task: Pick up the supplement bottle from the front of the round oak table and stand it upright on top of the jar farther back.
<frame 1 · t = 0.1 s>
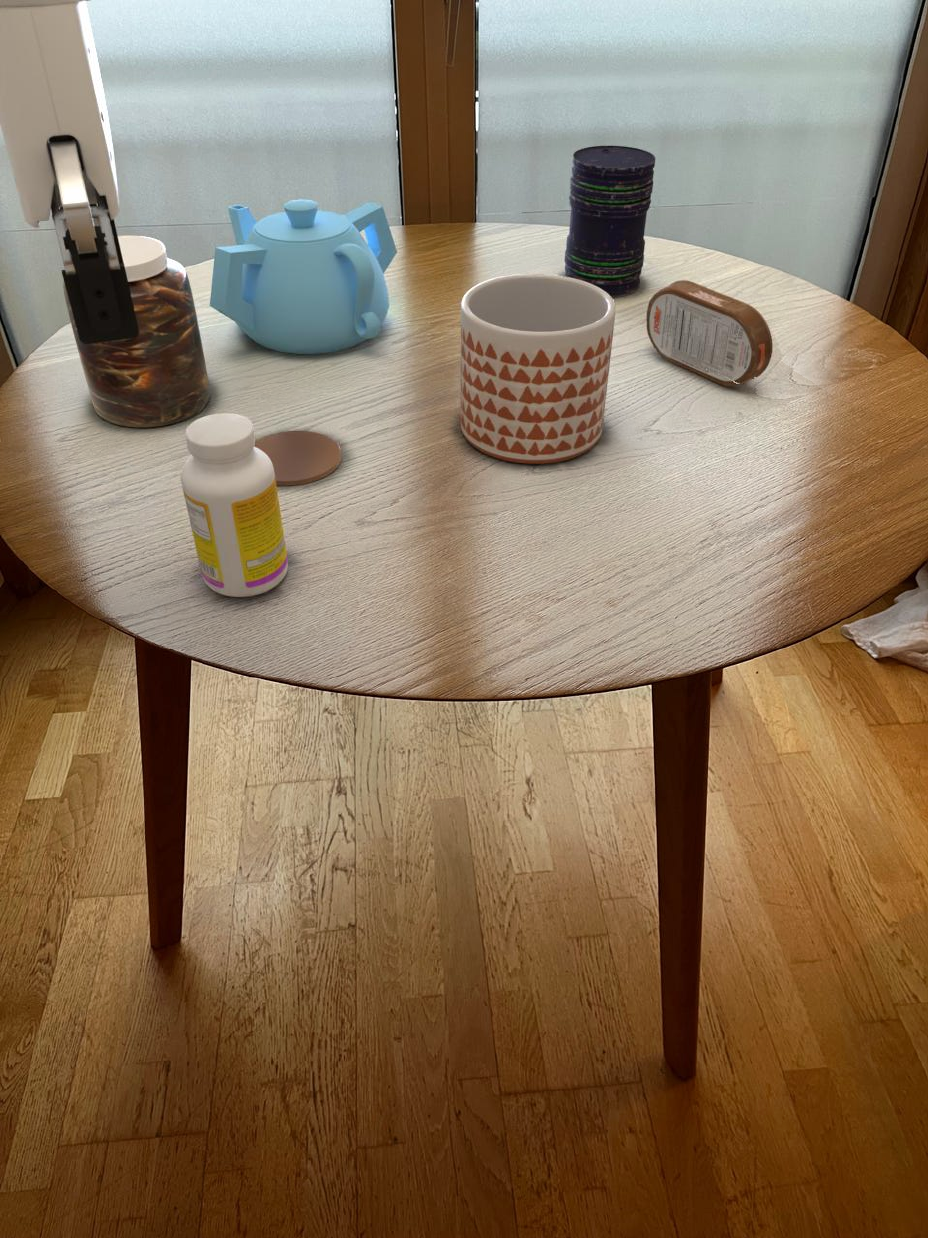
hand: (105, 306, 57), 23 cm above the table, tool pointing down, fingers open, 9 cm apart
brown coaster: (292, 459, 89), on the table
teapot: (309, 326, 112), on the table
tin: (698, 372, 103), on the table
storage jar: (601, 284, 122), on the table
planter: (530, 431, 93), on the table
jar: (153, 401, 97), on the table
supplement bottle: (246, 576, 75), on the table
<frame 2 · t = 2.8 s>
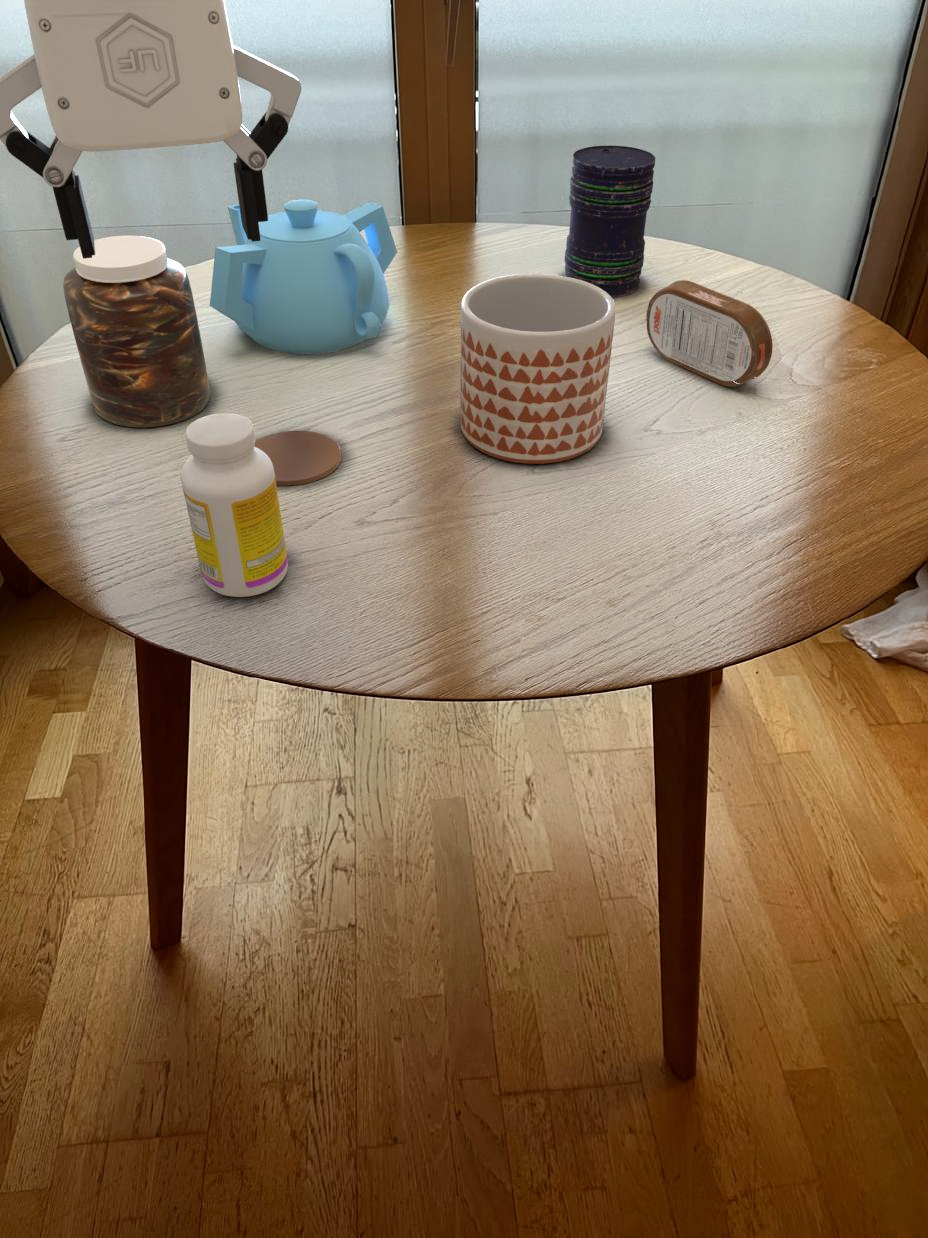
hand: (171, 242, 58), 26 cm above the table, tool pointing down, fingers open, 9 cm apart
nothing on the table moved.
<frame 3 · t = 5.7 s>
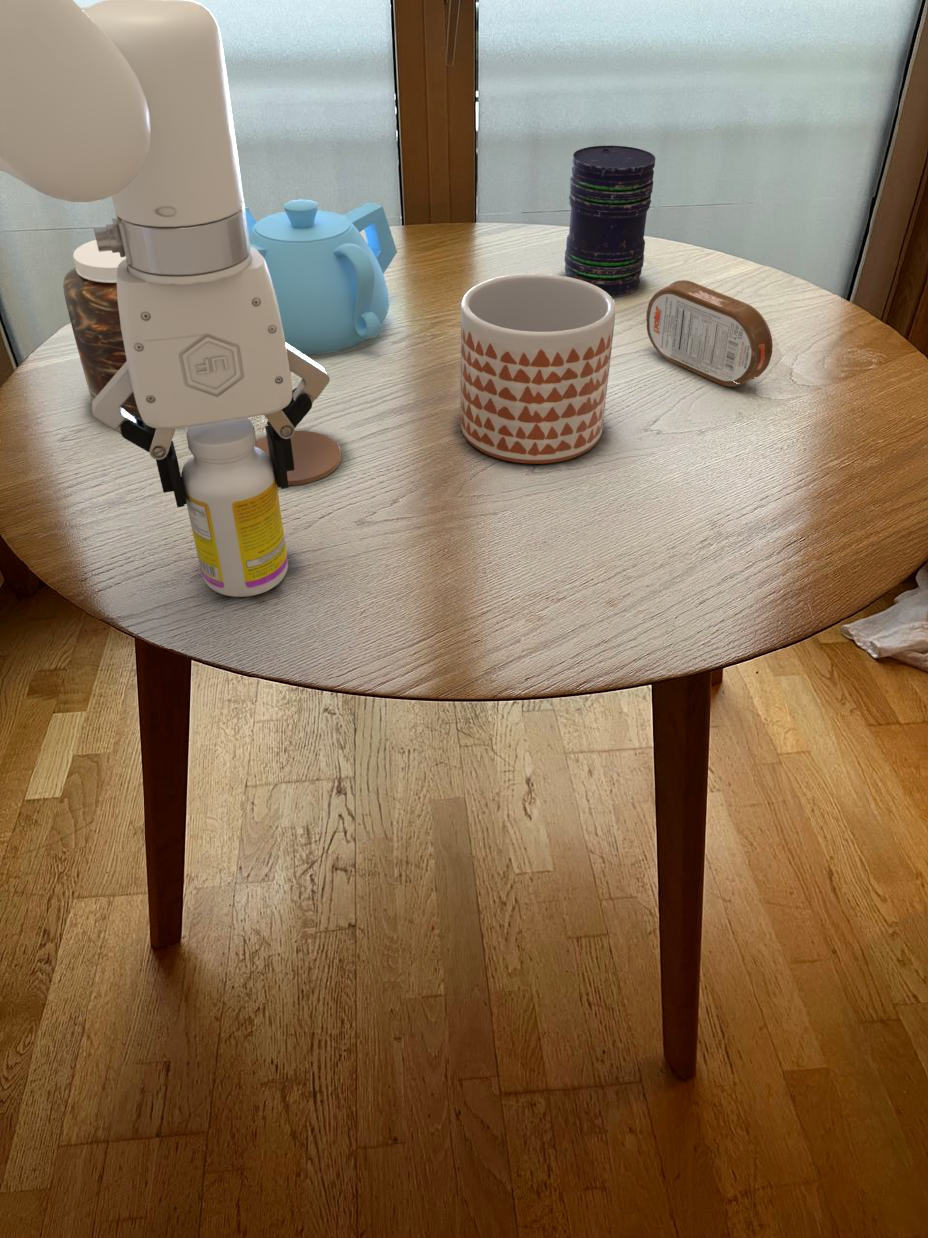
hand: (230, 486, 70), 8 cm above the table, tool pointing down, fingers closed on supplement bottle, 6 cm apart
supplement bottle: (246, 576, 75), on the table, touching gripper
everything else where it was.
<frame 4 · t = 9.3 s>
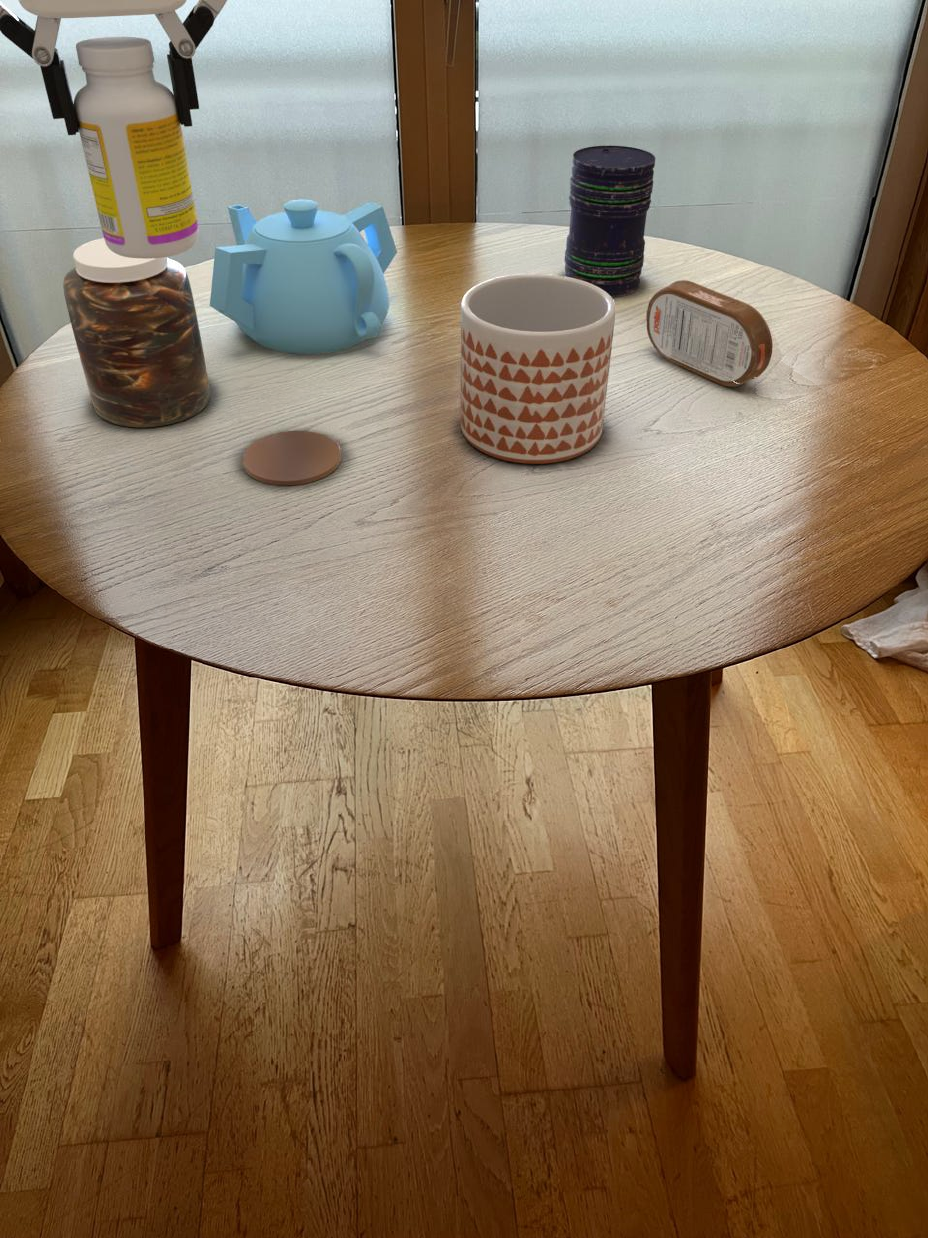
hand: (129, 123, 64), 30 cm above the table, tool pointing down, fingers closed on supplement bottle, 6 cm apart
supplement bottle: (154, 248, 70), point 21 cm above the table, touching gripper
everything else where it was.
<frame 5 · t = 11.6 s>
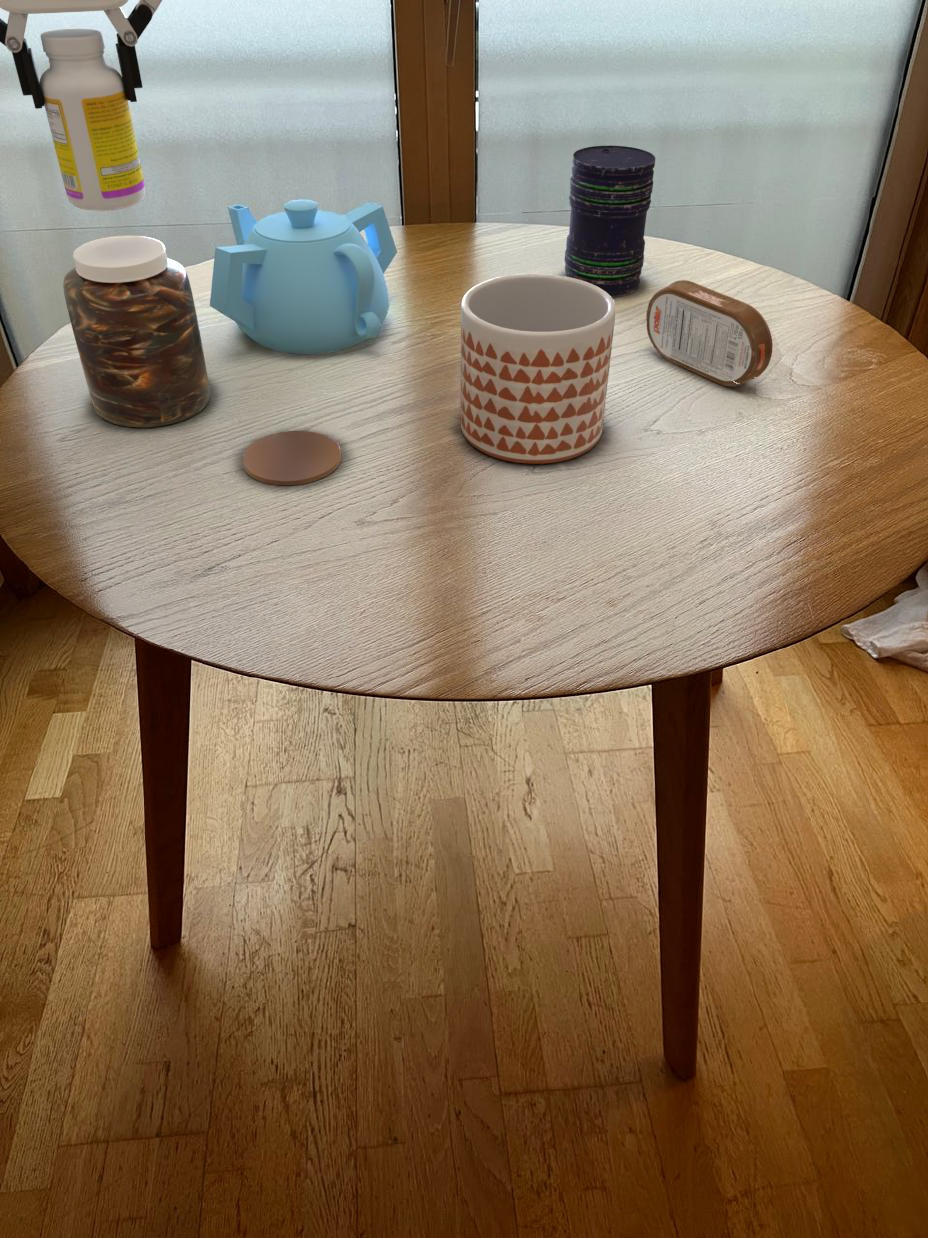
hand: (85, 99, 79), 27 cm above the table, tool pointing down, fingers closed on supplement bottle, 6 cm apart
supplement bottle: (108, 203, 85), point 19 cm above the table, touching gripper
everything else where it was.
when the fingers open (23 cm above the table, at t = 13.4 s): supplement bottle stays where it is, resting on jar.
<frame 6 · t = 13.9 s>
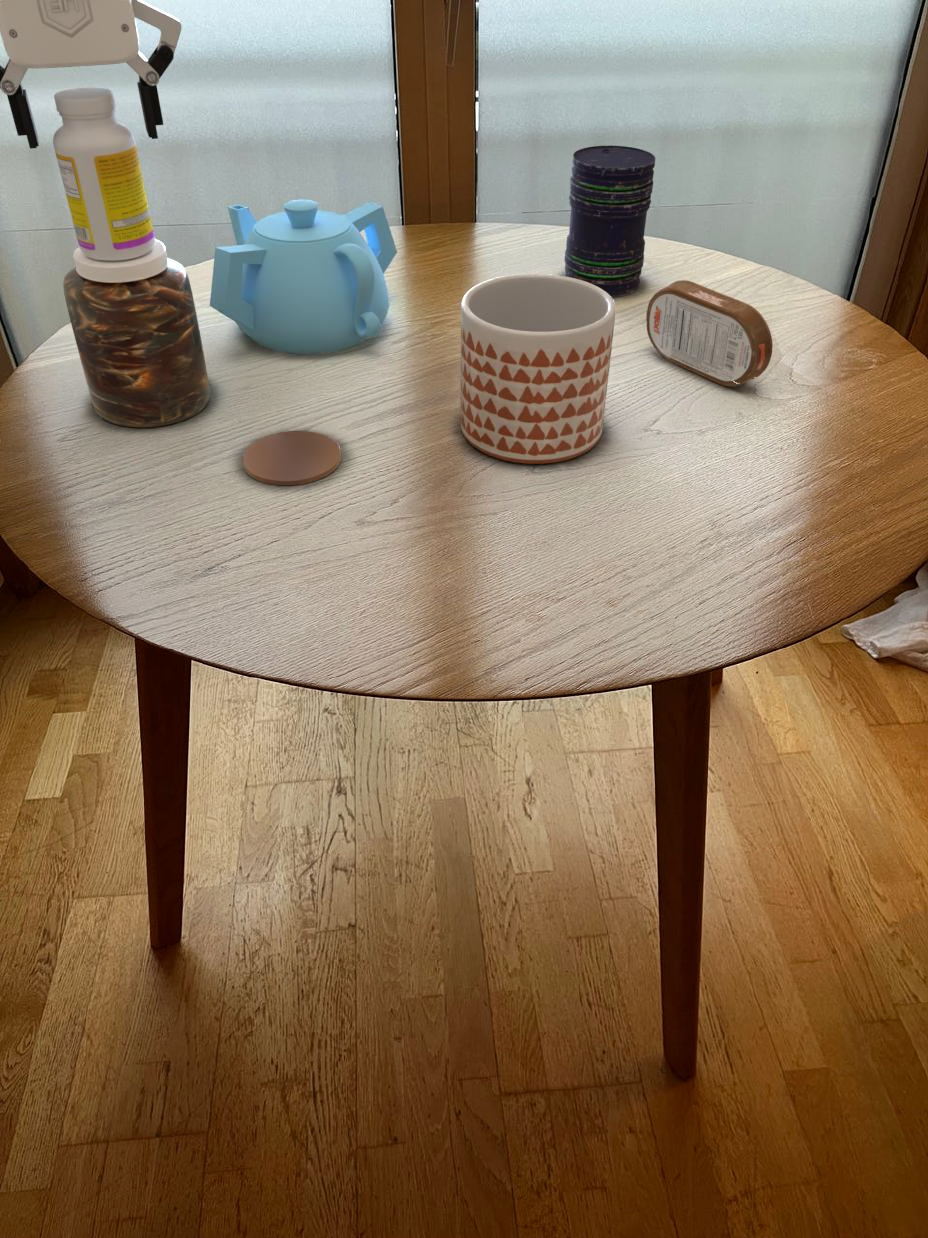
hand: (94, 139, 81), 24 cm above the table, tool pointing down, fingers open, 9 cm apart
jar: (153, 401, 97), on the table, touching supplement bottle
supplement bottle: (119, 252, 88), point 15 cm above the table, touching jar
everything else where it was.
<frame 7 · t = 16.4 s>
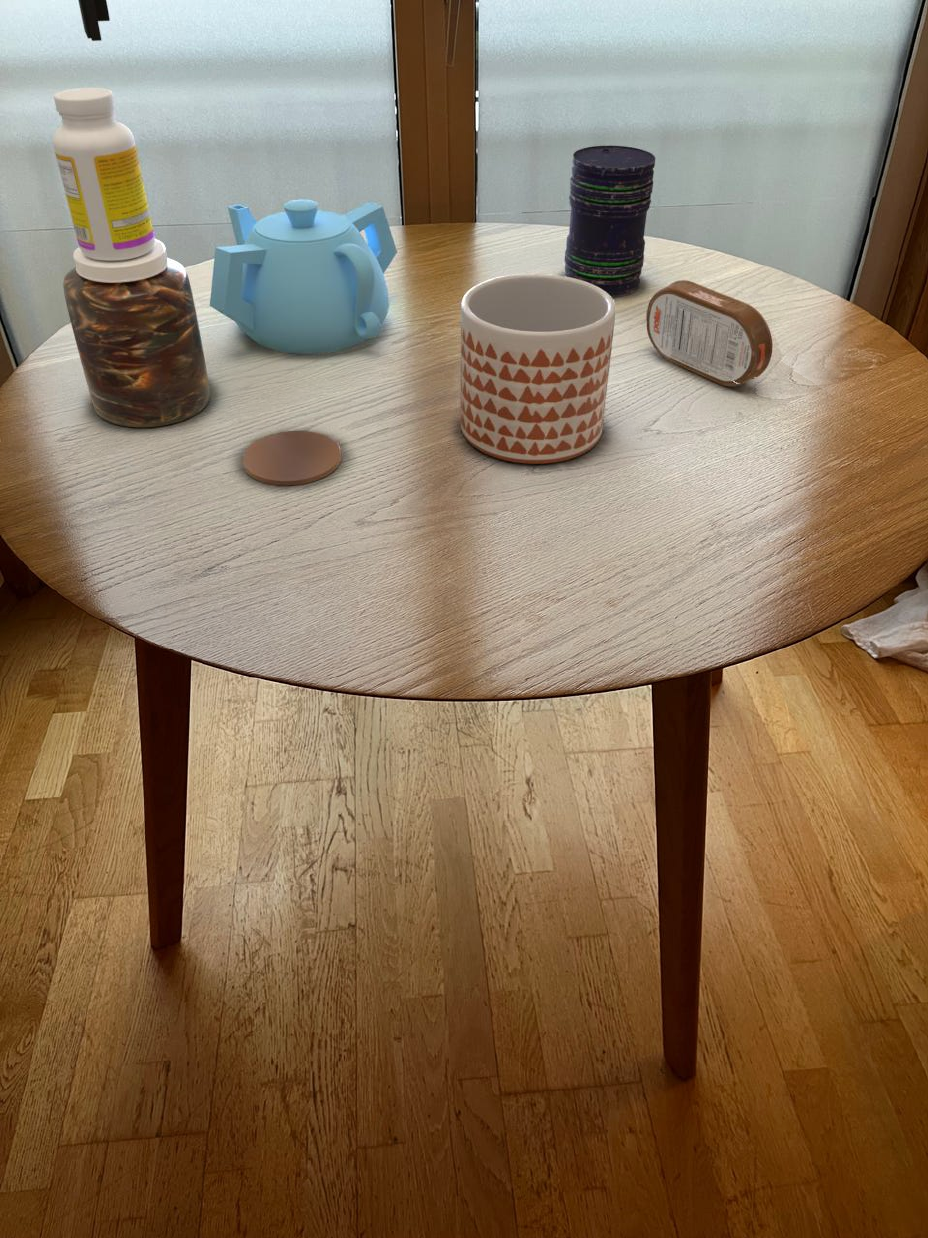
hand: (3, 40, 54), 36 cm above the table, tool pointing down, fingers open, 9 cm apart
nothing on the table moved.
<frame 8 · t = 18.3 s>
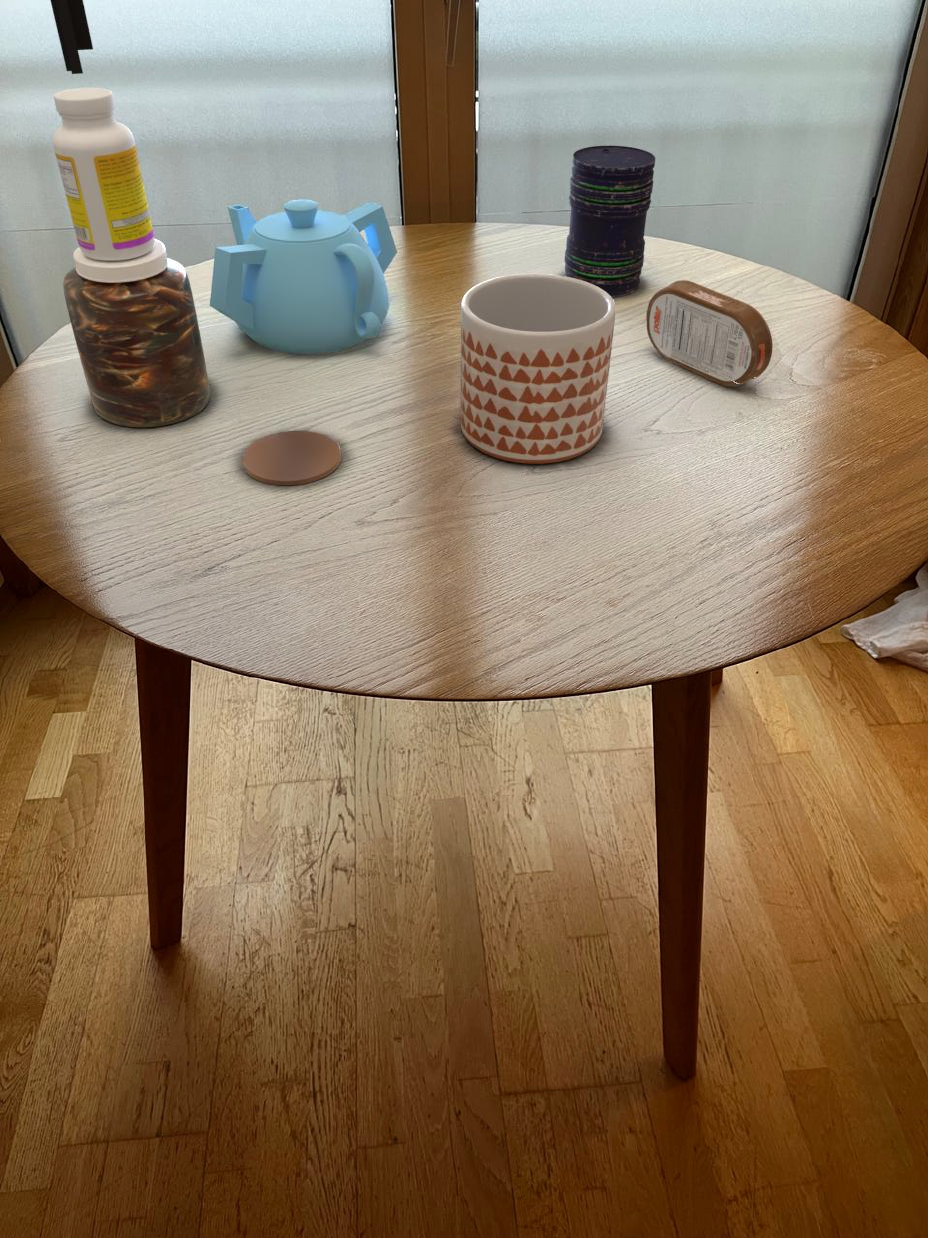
nothing on the table moved.
at the end: supplement bottle 0.0 cm off-centre on the jar, point 15.0 cm above the jar's base; supplement bottle tilted 0°; the gripper is holding nothing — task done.
